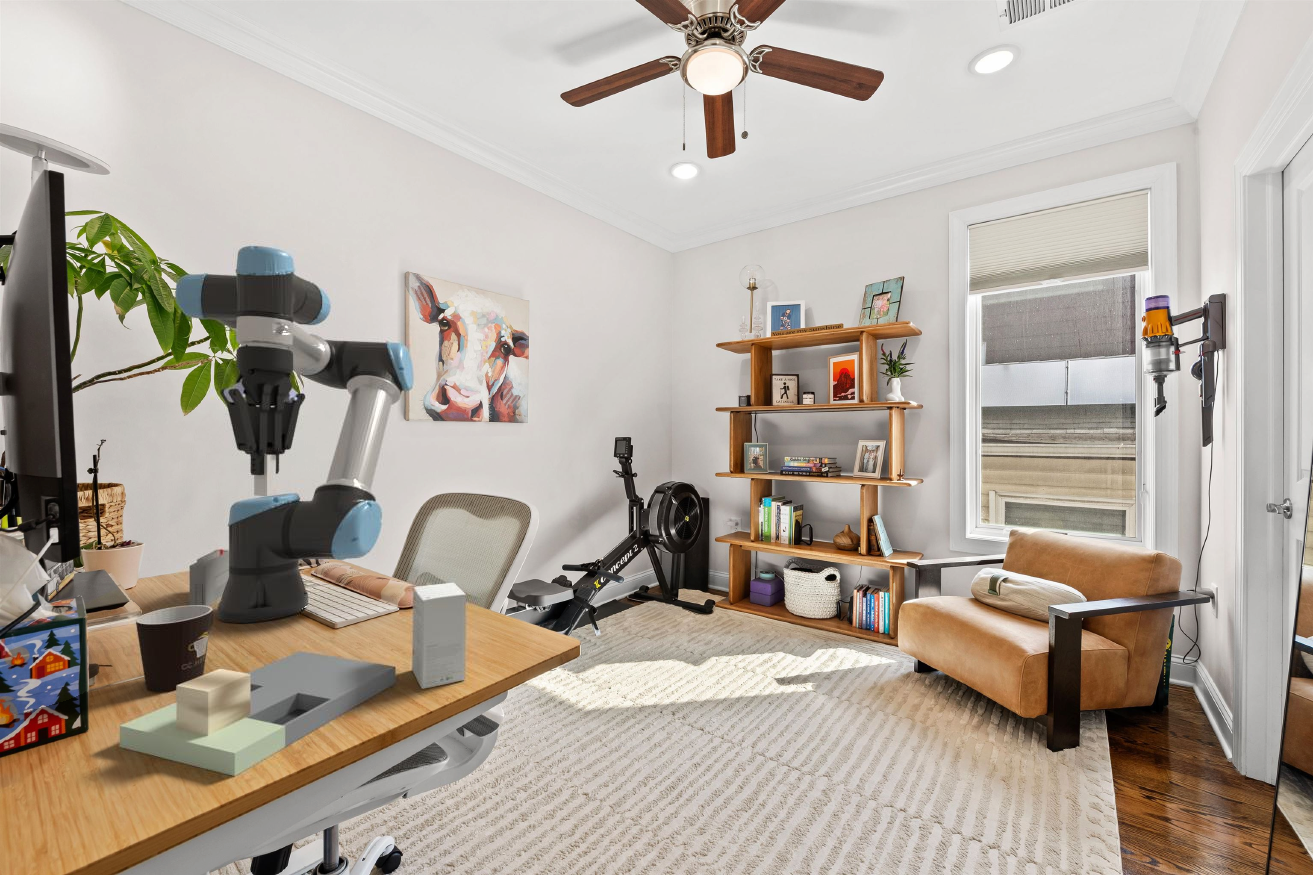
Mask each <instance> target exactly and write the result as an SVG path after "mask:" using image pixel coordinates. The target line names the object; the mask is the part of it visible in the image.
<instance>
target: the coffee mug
mask: <svg viewBox="0 0 1313 875" xmlns="http://www.w3.org/2000/svg"><path fill="white" fill-rule="evenodd" d="M213 622H214V614H213V607H212V606H211V605H210V606H204V605H190V604H189V605H179V606H173V607H168V608H161V609H158V610H153V611H150V612H147V613H144V614H141V615H140V616H138V617H136V619H135V625H136V632H137V638H138V639H137V640H138V644H139V651H140V657H141V662H142V663H141V664H142V671H143V677H144V683H145V689H146V690H145V691H147V692H150V693H157V694H158V693H159V694H160V693H168V692H174V691H176V686H177V685H179V684H182V683H184V682H187V681H190V680H192V679H195V678H197V677H200V676H202V675H204V672H205V666H206V659H207V658H206V656H207V651H208V646H209V637H210V630H211V628H212V625H213Z"/></svg>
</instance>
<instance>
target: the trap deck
mask: <svg viewBox="0 0 1313 875" xmlns="http://www.w3.org/2000/svg"><path fill="white" fill-rule="evenodd" d="M396 668H397V667H396V666H393V665H388V664H382V663H376V662H375V663H374V662H370V661H363V660H356V659H350V658H346V657H338V656H334V655H333V656H332V655H326V654H320V653H315V652H307V651H302V650H299V651H297V652H295V653H292V654H290V655H288V656H285V657H282V658H280V659H278V660H275V661H272V662H271V663H268V664H266V665H265V664H264V665H263V666H261V667H257V668H255V669H253V670H250V671H248V672H246V673H247V674H251V676H250V715H249V716H247V717H245V718H243V719H241V720H239V721H237V722H235V723H233V724H231V725H229V726H227V727H225V728H223V729H221V730H219V731H217V732H215V733H213V734H211V735H209V736H208V735H203V734H199V733H194V732H190V731H185V730H181V729H177V728H176V702H174V703H171V704H169V705H166V706H164V707H161V708H159V709H157V710H154V711H152V712H150V713H147V714H144V715H141V716H140V717H137V718H135V719H131V720H130V721H128V722H124V723H123V724H121V725H119V748H123V749H127V750H131V751H134V752H139V753H142V754H146V755H151V756H155V757H158V758H161V759H164V760H165V759H166V760H170V761H173V762H177V763H180V764H182V763H183V764H185V765H190V766H194V767H197V768H200V769H204V770H209V771H212V772H215V773H216V772H217V773H221V774H225V775H229V776H233V777H236V776H238V775H239V774H242V773H243V772H245V771H246V770H248V769H250V768H252V767H253V766H256V764H259V763H261V762H263V761H264V760H265V759H267V758H270V757H271V756H272V755H274V754H276V753H277V752H279V751H281V750H283V749H284V748H286V747H288V746H290V745H291V744H293V743H295V742H296V741H299V740H300V739H302V738H303V737H305V736H307V735H309V734H311V733H313V732H315V731H316V730H317V729H319V728H321V727H322V726H323V727H324V726H325V725H326V724H328V723H330V722H332V721H334V719H337V718H338V717H341V716H342V715H343V714H345V713H347V712H349V711H350V710H353V709H354V708H355V707H357V706H359V705H361V704H362V703H364V702H366V701H368V700H370V699H371V698H373V697H374V696H376V695H378V694H380V693H382V692H384V691H385V690H387V689H389V688H390V687H392V686H394V685H395V684H396V674H397V673H396V670H397V669H396Z"/></svg>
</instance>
